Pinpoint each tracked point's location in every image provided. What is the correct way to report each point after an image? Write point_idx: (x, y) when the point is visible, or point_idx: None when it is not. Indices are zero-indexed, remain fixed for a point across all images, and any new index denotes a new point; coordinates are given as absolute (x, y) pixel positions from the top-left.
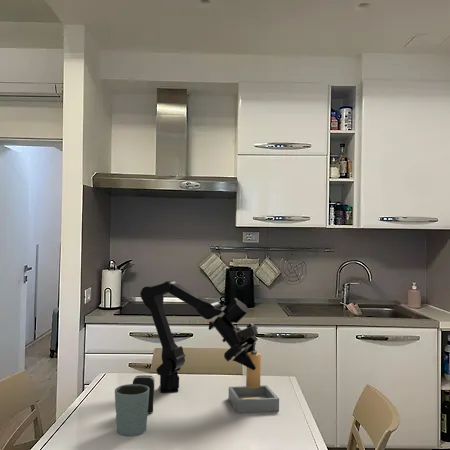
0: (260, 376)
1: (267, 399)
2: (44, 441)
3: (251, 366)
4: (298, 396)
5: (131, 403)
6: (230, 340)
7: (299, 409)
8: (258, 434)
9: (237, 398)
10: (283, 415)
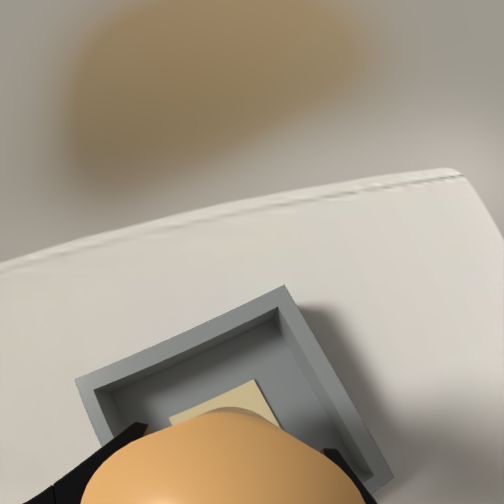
0: (219, 409)
1: (318, 343)
2: None
3: None
4: (77, 244)
5: None
6: None
7: (228, 225)
8: (495, 324)
9: None
10: (321, 277)
